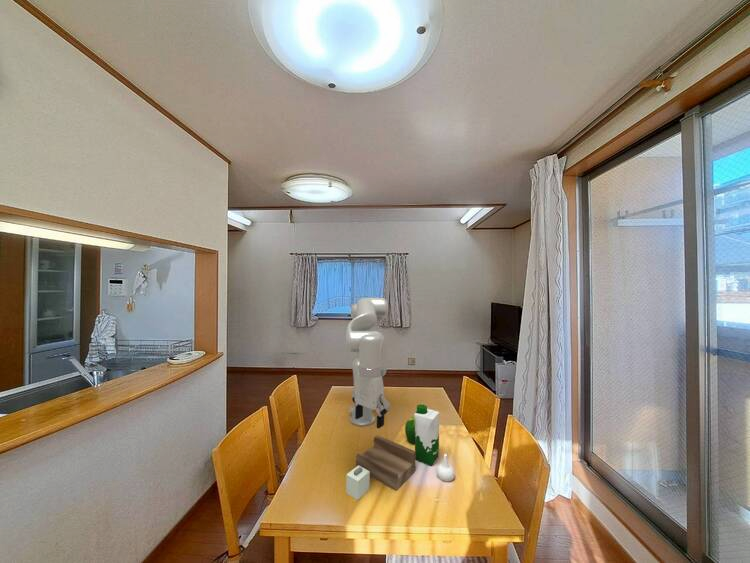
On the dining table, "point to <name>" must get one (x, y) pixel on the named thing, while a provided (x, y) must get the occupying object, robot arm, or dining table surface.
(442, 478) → the garlic bulb
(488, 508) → the dining table surface
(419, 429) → the milk carton
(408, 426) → the bell pepper
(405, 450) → the shelf
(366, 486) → the cabinet
